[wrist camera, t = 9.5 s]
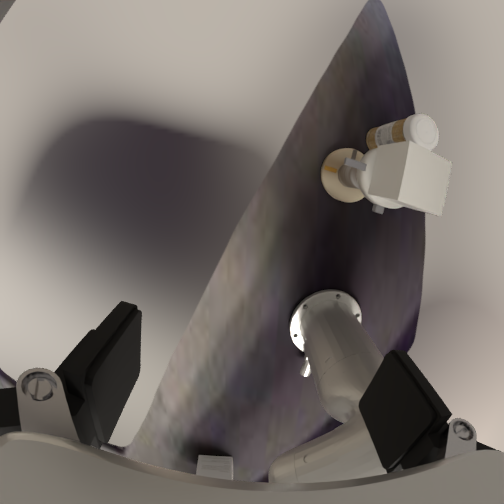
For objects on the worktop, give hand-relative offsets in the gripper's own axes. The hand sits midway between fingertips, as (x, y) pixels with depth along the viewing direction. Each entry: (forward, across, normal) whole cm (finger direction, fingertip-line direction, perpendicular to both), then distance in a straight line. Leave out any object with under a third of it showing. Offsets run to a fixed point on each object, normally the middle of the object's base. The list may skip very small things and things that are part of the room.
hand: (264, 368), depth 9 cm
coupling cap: (+20, -11, -10) cm, 25 cm away
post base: (+32, -12, -10) cm, 36 cm away
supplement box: (+33, -5, +64) cm, 72 cm away
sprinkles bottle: (+32, -16, -17) cm, 40 cm away
